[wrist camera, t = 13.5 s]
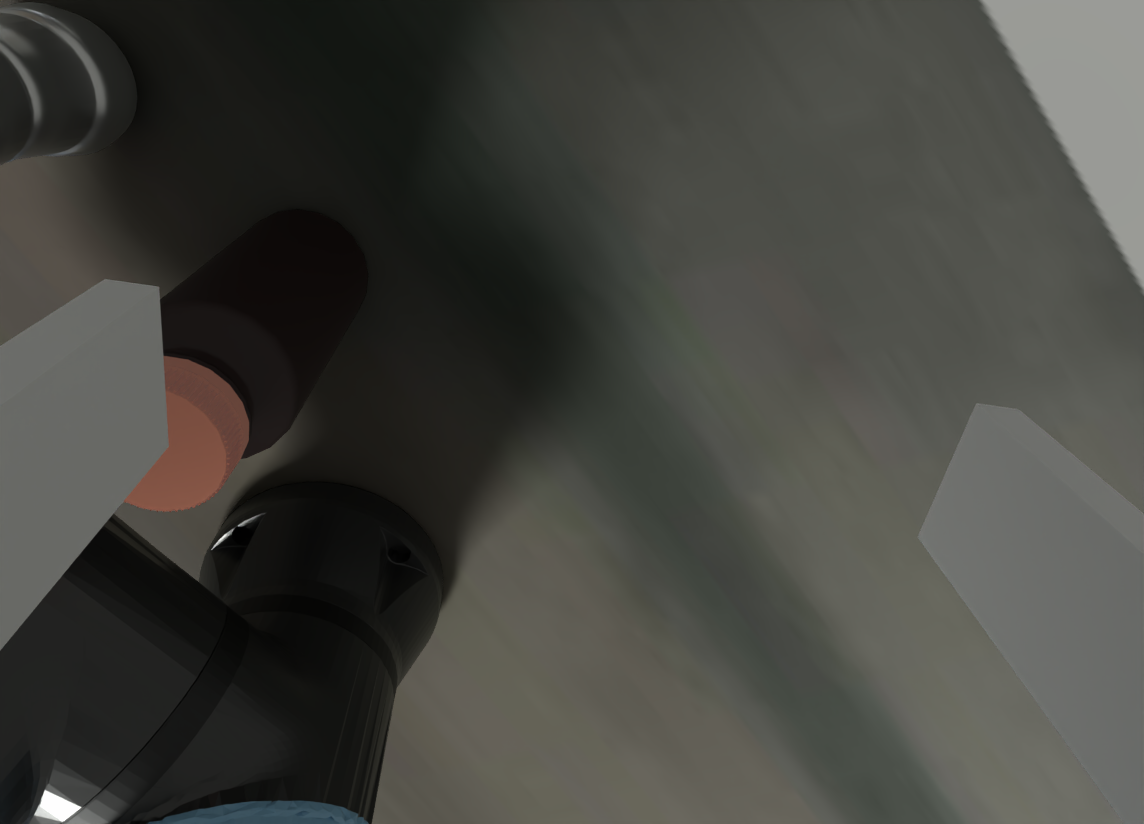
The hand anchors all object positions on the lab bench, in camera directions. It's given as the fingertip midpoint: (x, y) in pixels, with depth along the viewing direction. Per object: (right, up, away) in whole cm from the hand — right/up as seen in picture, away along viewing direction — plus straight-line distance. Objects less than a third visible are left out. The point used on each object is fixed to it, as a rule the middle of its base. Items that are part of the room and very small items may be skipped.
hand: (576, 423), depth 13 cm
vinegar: (-15, +8, +31) cm, 35 cm away
